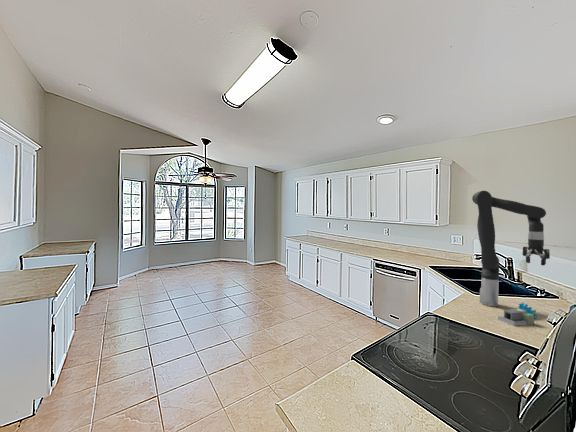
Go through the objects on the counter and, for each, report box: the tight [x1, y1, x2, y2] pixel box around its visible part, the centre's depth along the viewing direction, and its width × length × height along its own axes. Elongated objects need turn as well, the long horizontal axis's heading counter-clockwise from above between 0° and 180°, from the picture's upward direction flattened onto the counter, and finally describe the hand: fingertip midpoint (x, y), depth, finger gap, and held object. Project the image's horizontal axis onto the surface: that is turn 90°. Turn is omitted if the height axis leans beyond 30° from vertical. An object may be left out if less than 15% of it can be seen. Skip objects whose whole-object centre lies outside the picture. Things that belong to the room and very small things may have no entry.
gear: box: [517, 302, 538, 320], centre depth 164 cm, size 11×6×10 cm
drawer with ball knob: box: [497, 308, 535, 327], centre depth 156 cm, size 10×13×6 cm
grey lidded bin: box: [503, 308, 523, 321], centre depth 156 cm, size 7×5×5 cm
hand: (535, 264), depth 179 cm, fingers open, 8 cm apart
